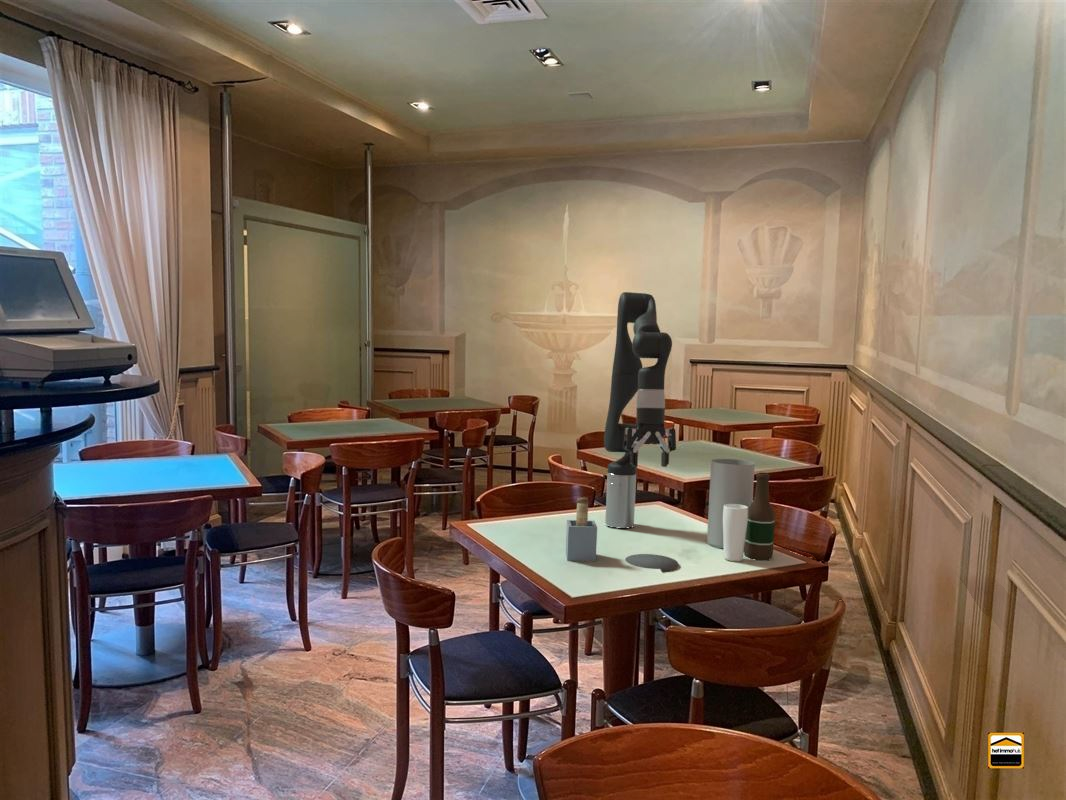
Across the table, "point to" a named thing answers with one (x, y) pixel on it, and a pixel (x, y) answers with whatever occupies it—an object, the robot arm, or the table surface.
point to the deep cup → (581, 541)
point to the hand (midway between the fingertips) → (649, 466)
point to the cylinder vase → (727, 493)
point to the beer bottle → (760, 522)
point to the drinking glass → (734, 531)
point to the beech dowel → (582, 511)
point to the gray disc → (652, 561)
